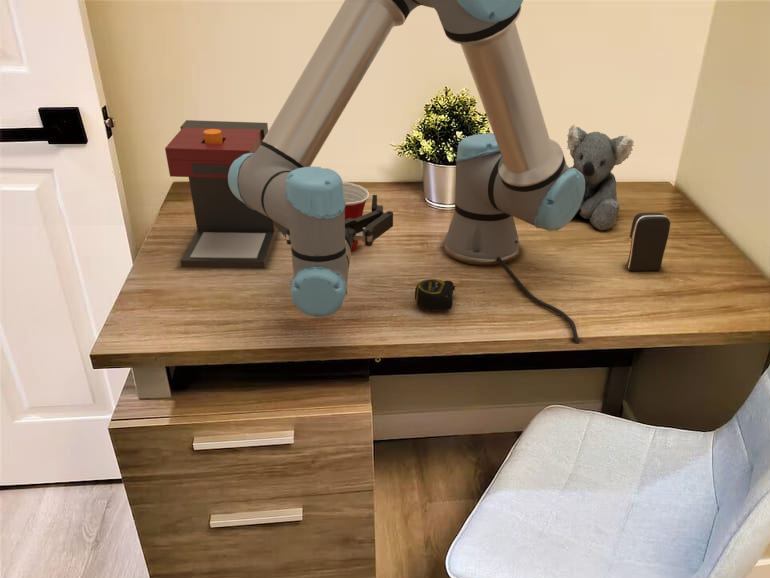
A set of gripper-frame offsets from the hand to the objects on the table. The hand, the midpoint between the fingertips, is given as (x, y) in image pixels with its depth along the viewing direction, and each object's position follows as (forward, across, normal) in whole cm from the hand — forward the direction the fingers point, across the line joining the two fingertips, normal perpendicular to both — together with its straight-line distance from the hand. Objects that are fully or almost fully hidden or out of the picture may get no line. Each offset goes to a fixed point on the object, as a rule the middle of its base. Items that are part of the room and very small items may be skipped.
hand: (336, 200), depth 131 cm
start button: (+6, -21, +7) cm, 23 cm away
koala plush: (+30, +54, -13) cm, 63 cm away
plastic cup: (+10, 0, -14) cm, 17 cm away
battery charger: (+3, +60, -13) cm, 61 cm away
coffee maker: (+9, -21, -14) cm, 27 cm away
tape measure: (-13, +18, -14) cm, 26 cm away
